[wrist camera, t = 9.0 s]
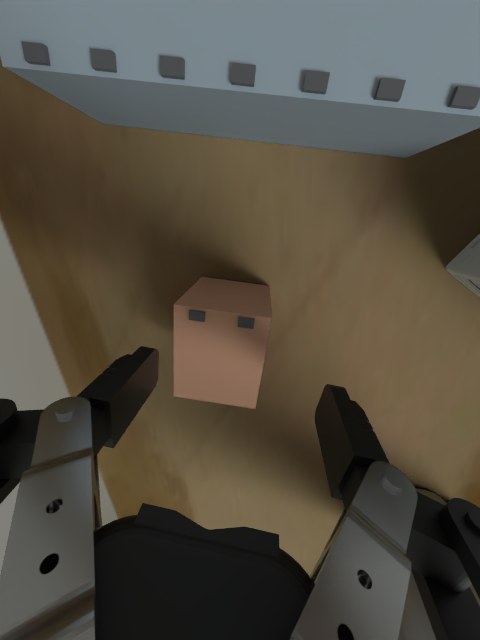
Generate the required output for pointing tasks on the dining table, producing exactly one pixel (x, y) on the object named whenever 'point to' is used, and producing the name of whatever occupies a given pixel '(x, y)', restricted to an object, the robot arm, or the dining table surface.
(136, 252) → the dining table surface
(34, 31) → the block
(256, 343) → the stub
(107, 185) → the dining table surface
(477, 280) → the supplement box
